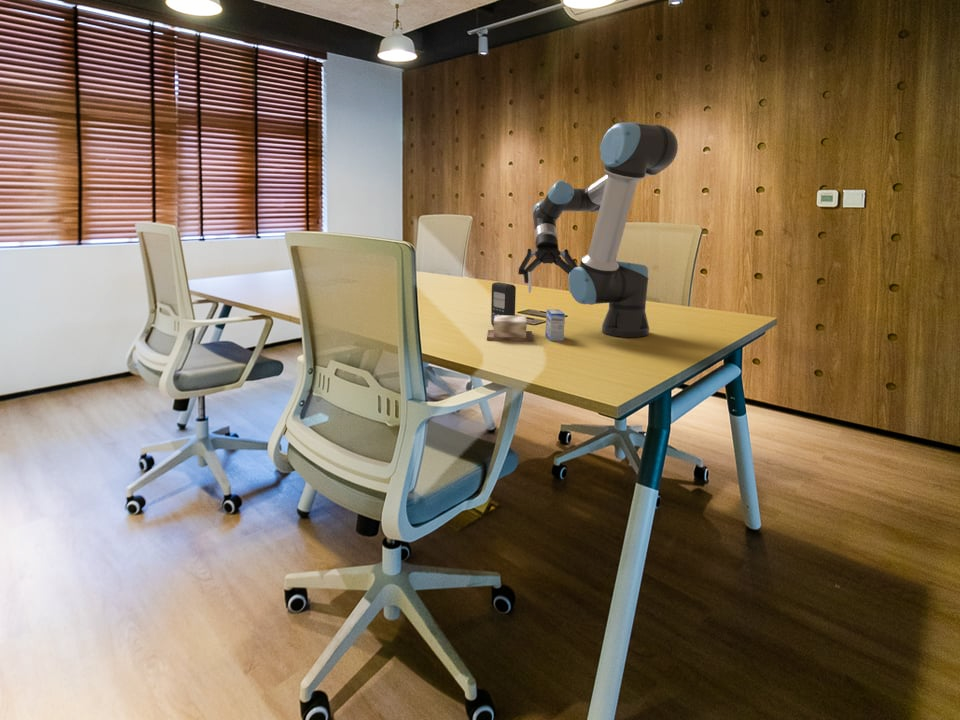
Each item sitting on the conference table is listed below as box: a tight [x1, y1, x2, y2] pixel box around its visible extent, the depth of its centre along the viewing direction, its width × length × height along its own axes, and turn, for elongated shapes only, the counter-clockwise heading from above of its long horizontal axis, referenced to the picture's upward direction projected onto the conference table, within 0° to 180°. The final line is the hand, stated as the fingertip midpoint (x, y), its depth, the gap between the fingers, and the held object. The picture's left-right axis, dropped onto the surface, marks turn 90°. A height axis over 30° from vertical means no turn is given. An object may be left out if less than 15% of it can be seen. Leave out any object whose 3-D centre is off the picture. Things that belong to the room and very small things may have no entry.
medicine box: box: [544, 308, 566, 342], centre depth 189 cm, size 8×4×9 cm, turn 5°
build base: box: [486, 315, 534, 343], centre depth 190 cm, size 14×11×6 cm
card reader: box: [490, 281, 517, 327], centre depth 203 cm, size 9×4×15 cm, turn 37°
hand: (550, 290), depth 196 cm, fingers open, 13 cm apart
